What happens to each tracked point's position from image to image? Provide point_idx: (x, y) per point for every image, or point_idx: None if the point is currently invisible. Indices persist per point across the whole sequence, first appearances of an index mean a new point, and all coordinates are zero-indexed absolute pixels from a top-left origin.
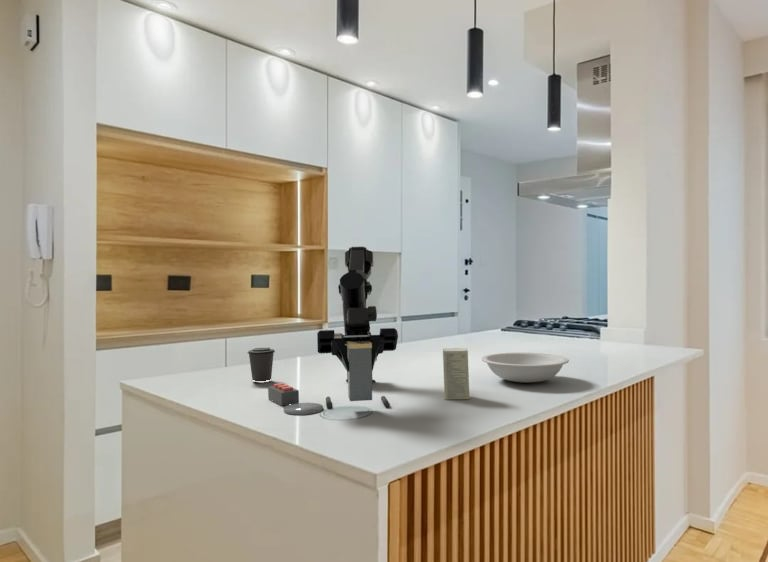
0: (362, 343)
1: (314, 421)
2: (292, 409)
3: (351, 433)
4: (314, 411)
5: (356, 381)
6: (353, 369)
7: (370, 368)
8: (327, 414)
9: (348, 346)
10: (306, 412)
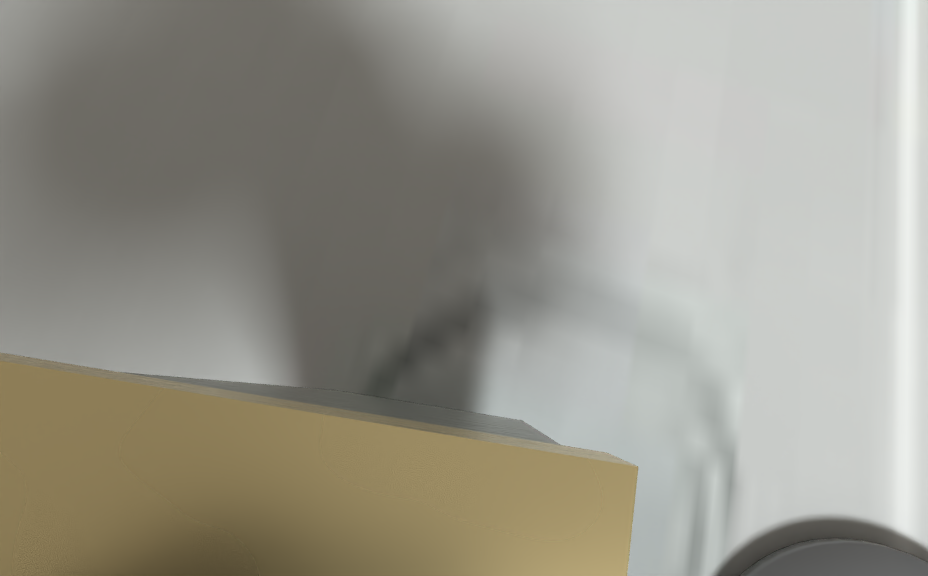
0: (91, 460)
1: (788, 330)
2: None
3: (597, 11)
4: (779, 555)
5: (452, 413)
6: (480, 423)
7: (235, 382)
8: (676, 487)
9: (620, 459)
10: (845, 542)
